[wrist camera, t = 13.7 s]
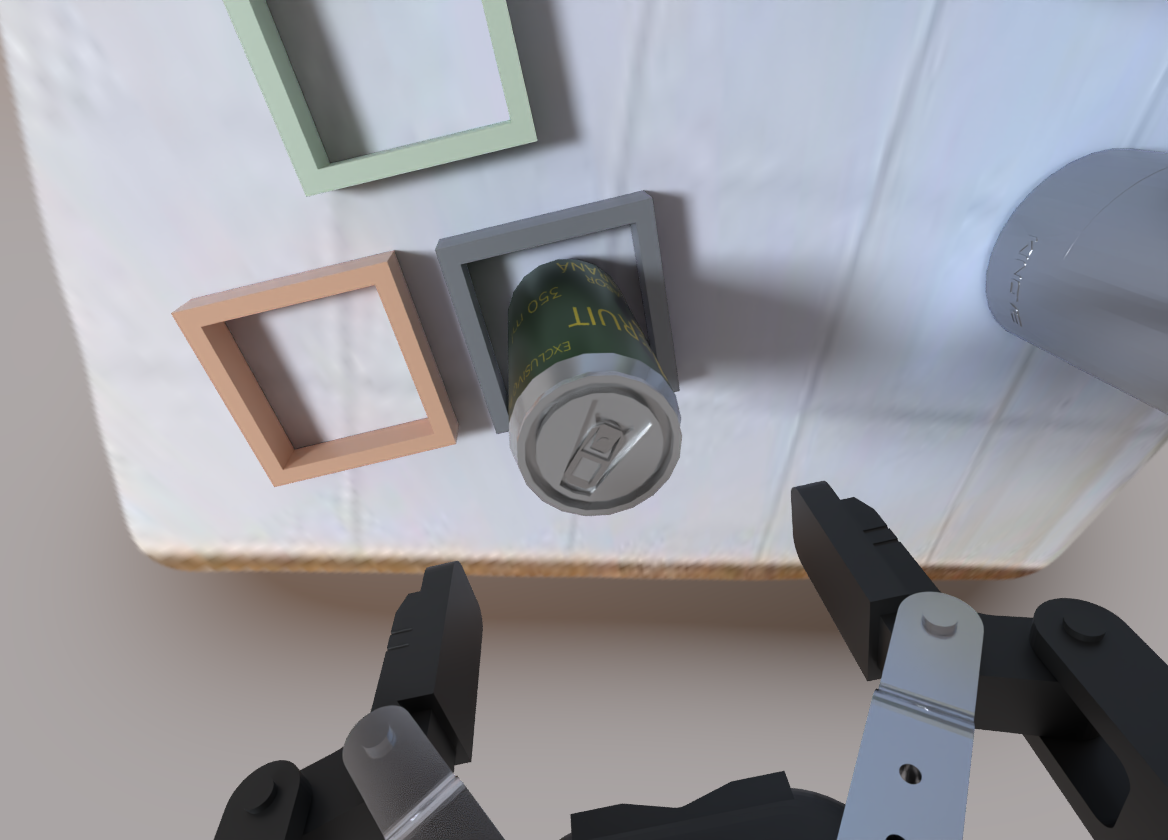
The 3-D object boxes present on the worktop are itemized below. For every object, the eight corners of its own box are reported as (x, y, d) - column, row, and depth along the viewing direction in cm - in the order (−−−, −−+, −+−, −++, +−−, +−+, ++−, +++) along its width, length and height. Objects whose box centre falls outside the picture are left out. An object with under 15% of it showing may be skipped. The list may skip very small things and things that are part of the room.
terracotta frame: (394, 250, 26) (387, 261, 24) (458, 425, 30) (456, 443, 29) (191, 299, 26) (171, 313, 24) (286, 466, 30) (274, 487, 29)
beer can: (588, 381, 30) (632, 542, 20) (488, 337, 28) (478, 488, 18) (643, 286, 28) (724, 411, 18) (539, 232, 26) (560, 335, 16)
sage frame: (468, -160, 20) (465, -180, 18) (535, 136, 24) (537, 141, 23) (201, -95, 20) (176, -109, 18) (319, 188, 24) (306, 197, 23)
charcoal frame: (643, 190, 26) (652, 197, 24) (670, 374, 30) (679, 390, 29) (439, 239, 26) (434, 249, 24) (497, 415, 30) (496, 434, 29)
